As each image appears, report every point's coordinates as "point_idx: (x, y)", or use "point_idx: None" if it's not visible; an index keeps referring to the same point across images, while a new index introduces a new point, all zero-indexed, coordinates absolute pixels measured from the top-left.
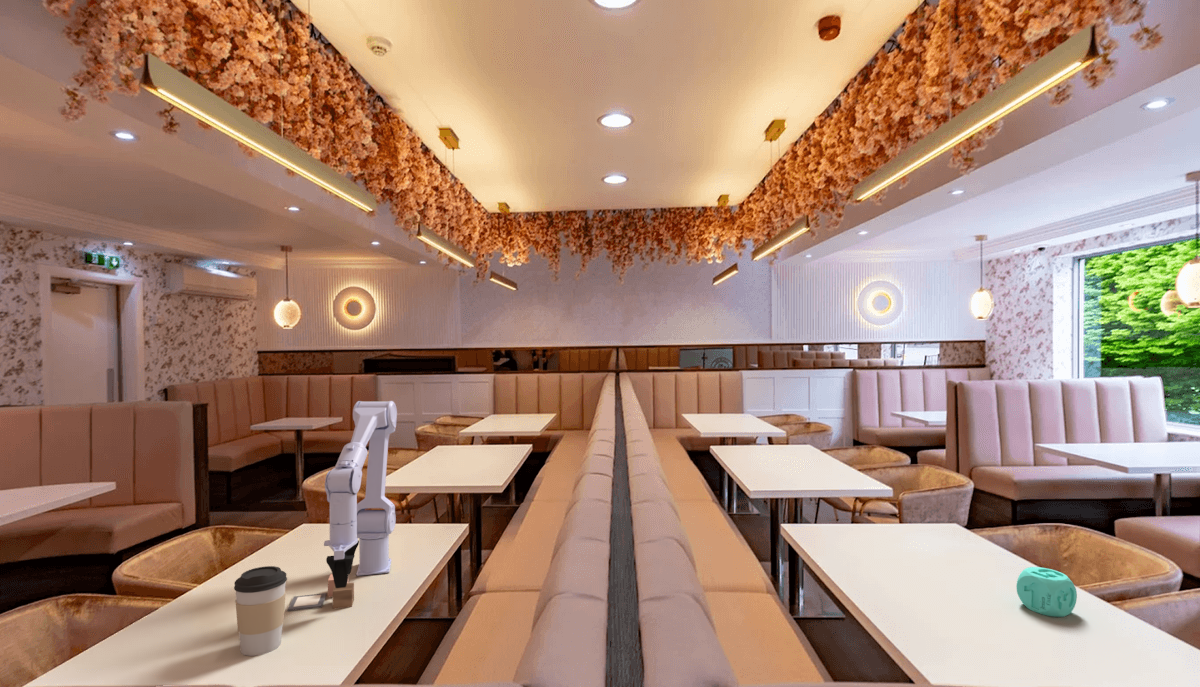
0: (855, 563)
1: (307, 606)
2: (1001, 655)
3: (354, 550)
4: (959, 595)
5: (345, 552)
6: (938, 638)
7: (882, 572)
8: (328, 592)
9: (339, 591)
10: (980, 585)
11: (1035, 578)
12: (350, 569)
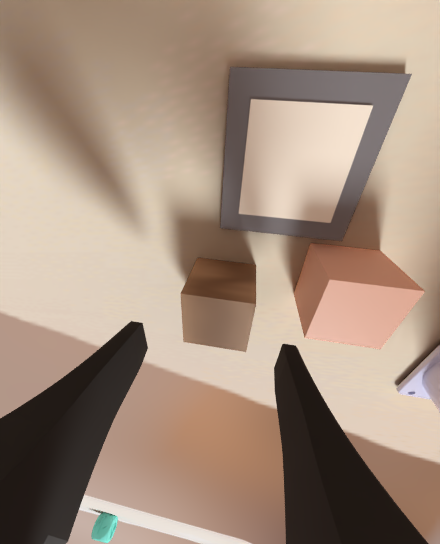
0: (175, 524)
1: (230, 174)
2: None
3: (286, 533)
4: (126, 515)
5: (301, 509)
6: None
7: (159, 521)
8: (313, 253)
9: (182, 310)
10: (136, 520)
11: (96, 538)
12: (275, 390)
